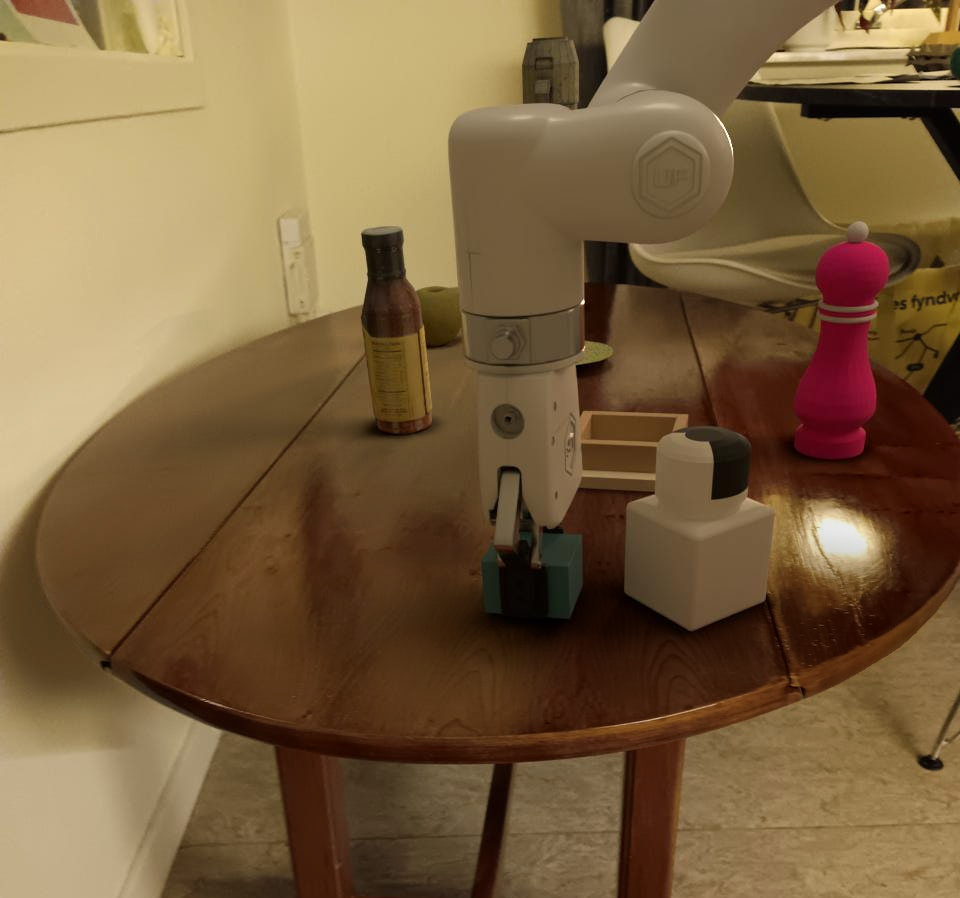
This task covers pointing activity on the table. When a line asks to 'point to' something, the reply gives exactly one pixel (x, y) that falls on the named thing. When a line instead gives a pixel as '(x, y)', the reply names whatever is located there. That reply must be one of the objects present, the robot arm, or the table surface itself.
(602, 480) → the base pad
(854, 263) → the pepper mill
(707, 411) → the table surface
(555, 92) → the thermos
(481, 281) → the robot arm
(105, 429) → the table surface
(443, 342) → the apple
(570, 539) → the teal block
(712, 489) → the medicine bottle
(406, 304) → the sauce bottle
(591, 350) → the green disc with hole
